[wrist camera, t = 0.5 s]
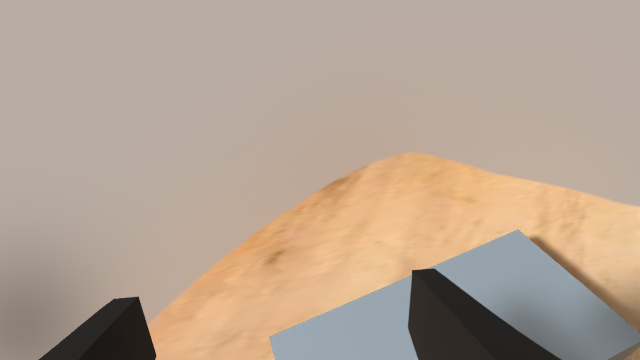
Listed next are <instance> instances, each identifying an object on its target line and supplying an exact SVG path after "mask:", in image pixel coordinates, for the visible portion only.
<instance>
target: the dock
mask: <svg viewBox="0 0 640 360" xmlns="http://www.w3.org/2000/svg"><path fill="white" fill-rule="evenodd" d="M432 268H434V269H436V270H437V271H439V272H440V273H441V274H443V275H444V276H445V277H447V278H448V279H449V280H451V281H452V282H453V283H454V284H456V285H457V286H458V287H460V288H461V289H462V290H464V291H465V292H466V293H468V294H469V295H470V296H471V297H473V298H474V299H475V300H477V301H478V302H479V303H481V304H482V305H483V306H485V307H486V308H487V309H489V310H490V311H491V312H493V313H494V314H496V315H497V316H498V317H500V318H501V319H502V320H504V321H505V322H507V323H508V324H509V325H511V326H512V327H514V328H515V329H516V330H518V331H519V332H521V333H522V334H524V335H525V336H527V337H528V338H530V339H531V340H533V341H534V342H536V343H537V344H539V345H540V346H542V347H543V348H545V349H546V350H548V351H549V352H551V353H552V354H554V355H555V356H557V357H558V358H560V359H561V360H625V359H627V358H628V356H629V355H630V354H631V353H632V352H633V351H634V350H635V349H636V348H637V347H638V346H639V345H640V332H639V331H638V330H636V329H635V328H634V327H633V326H632V325H631V324H629V323H628V322H627V321H626V320H625V319H623V318H622V317H621V316H620V315H619V314H617V313H616V312H615V311H614V310H613V309H612V308H610V307H609V306H608V305H607V304H606V303H604V302H603V301H602V300H601V299H600V298H599V297H597V296H596V295H595V294H594V293H593V292H591V291H590V290H589V289H588V288H587V287H585V286H584V285H583V284H582V283H581V282H580V281H578V280H577V279H576V278H575V277H574V276H572V275H571V274H570V273H569V272H568V271H567V270H565V269H564V268H563V267H562V266H561V265H559V264H558V263H557V262H556V261H555V260H554V259H552V258H551V257H550V256H549V255H548V254H546V253H545V252H544V251H543V250H542V249H540V248H539V247H538V246H537V245H536V244H535V243H533V242H532V241H531V240H530V239H529V238H527V237H526V236H525V235H524V234H523V233H522V232H520V231H519V230H516V231H514V232H511V233H509V234H507V235H504V236H502V237H500V238H497V239H495V240H493V241H490V242H488V243H486V244H484V245H481V246H479V247H477V248H474V249H472V250H470V251H467V252H465V253H463V254H460V255H458V256H456V257H453V258H451V259H449V260H446V261H444V262H442V263H440V264H437V265H435V266H433V267H430V268H428V269H432ZM411 281H412V276H409V277H407V278H405V279H402V280H400V281H398V282H395V283H393V284H391V285H389V286H386V287H384V288H382V289H379V290H377V291H375V292H372V293H370V294H368V295H365V296H363V297H361V298H358V299H356V300H354V301H351V302H349V303H347V304H345V305H342V306H340V307H338V308H335V309H333V310H331V311H328V312H326V313H324V314H321V315H319V316H317V317H314V318H312V319H310V320H307V321H305V322H303V323H300V324H298V325H296V326H294V327H291V328H289V329H287V330H284V331H282V332H280V333H277V334H275V335H273V336H270V341H271V345H272V349H273V353H274V358H275V360H418V357H417V355H416V352H415V349H414V346H413V343H412V339H411V336H410V333H409V330H408V319H409V306H410V294H411Z"/></svg>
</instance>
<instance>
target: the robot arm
mask: <svg viewBox="0 0 640 360" xmlns="http://www.w3.org/2000/svg"><path fill="white" fill-rule="evenodd" d="M408 330H409V333H410V336H411V339H412V343H413V346H414V349H415V352H416V355H417V357H418V360H561V359H560V358H558V357H557V356H555V355H554V354H552V353H551V352H549V351H548V350H546V349H545V348H543V347H542V346H540V345H539V344H537V343H536V342H534V341H533V340H531V339H530V338H528V337H527V336H525V335H524V334H522V333H521V332H519V331H518V330H516V329H515V328H514V327H512V326H511V325H509V324H508V323H507V322H505V321H504V320H502V319H501V318H500V317H498V316H497V315H496V314H494V313H493V312H491V311H490V310H489V309H487V308H486V307H485V306H483V305H482V304H481V303H479V302H478V301H477V300H475V299H474V298H473V297H471V296H470V295H469V294H468V293H466V292H465V291H464V290H462V289H461V288H460V287H458V286H457V285H456V284H454V283H453V282H452V281H451V280H449V279H448V278H447V277H445V276H444V275H443V274H441V273H440V272H439V271H437V270H436V269H434V268H432V269H422V270H412V281H411V294H410V306H409V319H408ZM155 359H156V353H155V349H154V346H153V343H152V339H151V336H150V333H149V330H148V326H147V323H146V320H145V316H144V313H143V310H142V307H141V303H140V300H139V297H131V298H119V299H113V300H112V301H111V302H110V303H108V304H107V305H105V306H104V307H103V308H101V309H100V310H99V311H98V312H96V313H95V314H94V315H93V316H91V317H90V318H89V319H88V320H87V321H85V322H84V323H83V324H82V325H80V326H79V327H78V328H77V329H76V330H75V331H73V332H72V333H71V334H70V335H69V336H67V337H66V338H65V339H64V340H62V341H61V342H60V343H59V344H58V345H56V346H55V347H54V348H53V349H51V350H50V351H49V352H48V353H47V354H45V355H44V356H43V357H42V358H40V359H39V360H155Z"/></svg>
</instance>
